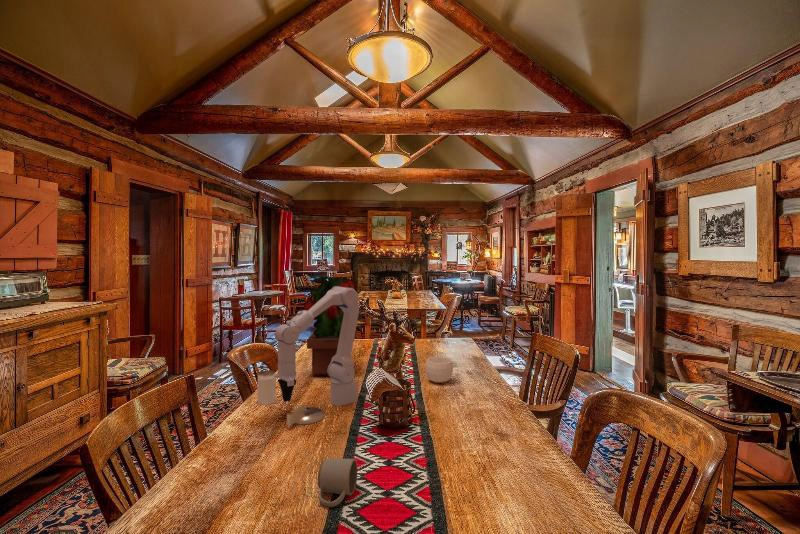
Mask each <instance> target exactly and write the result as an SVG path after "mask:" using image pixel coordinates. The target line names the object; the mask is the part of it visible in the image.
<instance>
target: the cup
mask: <svg viewBox="0 0 800 534" xmlns="http://www.w3.org/2000/svg"><path fill="white" fill-rule="evenodd" d="M424 370H425V371H424V372H425V375H426V378H428V379H429V380H430V381H431V382H432V383H433V382H434V384H437V383H442V384H444V382H445V383H446V382H448V381H450V380H451V378H452V376H453V372H454V364H453V359H450V358H448V357H443V356H432V357H429V358H427V359H426V361H425V366H424Z"/></svg>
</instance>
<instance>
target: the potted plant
mask: <svg viewBox="0 0 800 534" xmlns="http://www.w3.org/2000/svg"><path fill="white" fill-rule="evenodd" d="M352 277H353V276H334V277H332V276H321V275H319V276H318V277H313V282H314V283H315V284H319V285H318V286H317V287H316V288H314V289H311V290H310V293H309V294H310V296H312V297H308V298H307V299H306V301H305V302H303V310H306V311H308V310H309V309H310V308H311V307H312V306H314V305H315V304H316V303H317V302H318V301H319V300H320V299H321V298H323V297H324V296H325V295H326V293H327V292H328V291H329V290H331V289H332V288H333V287H335V286H339V287H345V288H353V289H354V290H355V291H356V290H357V285H356V283H355V282H354V281H353V279H350V278H352ZM343 315H344V312H343V311H342V309H341V308H340V307H339V306H338V305H332V306H330V307H329V308H327V309H326V310H325V311H323V312H322V313H320V314H319V315H318V316H316V317H315V318H314V322H313V327H314V328H316V329H314V331H313V332H312V334H311V335H310V336H309V337H308V338H307V340H306V349H307V350H309V349H310V350H311V374H315V375H316V377H330V376H329V375H328V372H327V370H328V366H329V365H330V363H331V360H332V357H333V356H335V355H336V353H337V348H338V342H339V337H340V332H341V326H342V321H343ZM355 336H356V335H355ZM355 336H354V338H355Z"/></svg>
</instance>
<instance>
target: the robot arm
mask: <svg viewBox="0 0 800 534" xmlns="http://www.w3.org/2000/svg"><path fill="white" fill-rule="evenodd" d="M359 297H360V294H359V293H358V292H357V291H356V290H354V289H353V288H345V287H339V286H335V287H333V288H332V289H331V290H329V291H328V292H327V293H326V295H325V296H324V297H323V298H321V299H320V300H319V301H318V302H317V303H316V304H315V305H314V306H312V307H311V308H310V309H309V310H308V311H306V310H304V309H303V310H298V312H296V315H295V316H293V317H292V318H291V319H290V320H287V321H286V324H285V323H284V324H280V325H279V326H277V328H276V330H275V332H274V334H273V335H274V338H275V339H276V340H277V373H275V375H274V377H275V378H276V382H278V384H279V387H280V391H281V396H282V397H281V398H282V400H283V403H286V402H291V399H292V397H293V390H294V388H295V386H296V384H297V380H296V377H297V372H296V369H297V368H296V363H297V360H296V353H297V351H296V343H297V341H298V339H299V338H300V335H301V334H302V333H303V332H305V331H306V330H307V329H308V328H309V327H310V326H312V325H314V323H315V320H314V318H315V317H316V316H318V315H319V314H320V313H322V312H323V311H325V310H326V309H327V308H329V307H330V306H332V305H338V306H339V307H340V308H341V309H342V311H343V312H344V315H343V321H342V326H341V332H340V337H339V342H338V348H337V353H336V355H335V356H333V357H332V360H331V363H330V365H329V366H328V370H327V372H328V375H329V376H328V377H329V378H330V404H331V405H334V406H345V405H349V404H355V403H358V385H357V383H358V382H357V381H356V380H355V379H354V378H355V374H356V373H355V362H354V360H353V358H352V351H353V346H354V342H355V337H354V336H356V335H355V334H356V330H357V324H358V320H359V314H360V306H359Z"/></svg>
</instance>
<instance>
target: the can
mask: <svg viewBox="0 0 800 534" xmlns="http://www.w3.org/2000/svg"><path fill="white" fill-rule="evenodd" d="M275 374H276V373H275V371H274V370H262V371H260V372H259V373H258V376H257V404H258V405H263V406H264V405H265V406H266V405H271V404H274V403H276V401H277V378H275V377H274V375H275Z"/></svg>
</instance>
